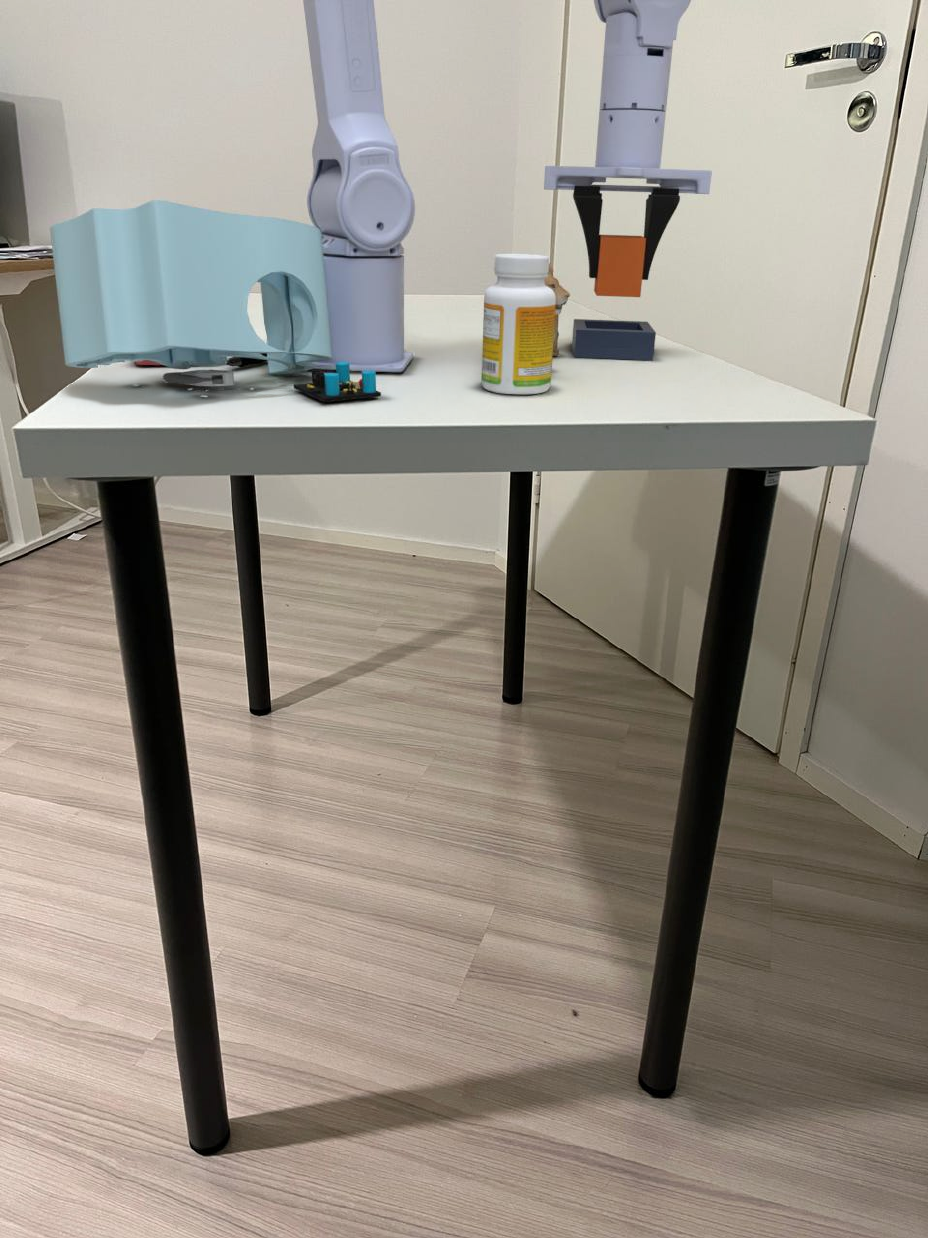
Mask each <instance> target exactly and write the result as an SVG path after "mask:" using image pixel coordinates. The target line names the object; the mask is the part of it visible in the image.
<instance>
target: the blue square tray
mask: <svg viewBox="0 0 928 1238" xmlns="http://www.w3.org/2000/svg"><path fill="white" fill-rule="evenodd" d="M656 335H657V332H656V331H655V329H654V328H653V327H652V325H651V324H650V323H649V322H648V321H639V320H638V321H637V320H612V319H611V320H610V319H586V318H585V319H584V318H574V319H573V325H572V337H571V338H572V340H571V347H572V353H573V357H574V358H579V359H580V358H581V359H605V360H608V359H609V360H633V361H653V360H654V355H655V345H656Z"/></svg>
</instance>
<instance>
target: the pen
mask: <svg viewBox="0 0 928 1238" xmlns="http://www.w3.org/2000/svg"><path fill="white" fill-rule="evenodd" d="M260 354H261V355H263V356H265V357H267V353H260ZM264 363H268V360H263V359H255V358H246V357H228V358H227V364H225V365H226V366H228V367H238V368H244V367H248V366H253V365H254V366H255V365H259V364H264Z"/></svg>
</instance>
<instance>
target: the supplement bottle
mask: <svg viewBox="0 0 928 1238" xmlns="http://www.w3.org/2000/svg"><path fill="white" fill-rule="evenodd" d="M549 263H550V257H549V255H546V254H545V255H544V254H535V253H534V254H532V253H498V254H495V255H494V267H493V271H494V275H495V276H496V277H497V280H496V282H495V283H494V284H492V285H490V286H488V288H487V289H486V290H485V291H484V297H483V298H484V299H483V321H482V322H483V323H482V347H481V348H482V351H481V353H482V354H481V386H482V387H483V388H484V389H485V390H486V391H488V392H493V393H496V394H501V395H502V394H503V395H504V394H505V395H537V394H542V393H545V392H547V391H548V390H549V389H550V387H551V385H552V383H551V382H552V371H553V370H552V369H553V355H552V354H553V338H554V322H555V306H556V297H555V293H554V292H553V290H552V289H551V288H549V287H547V286H546V285H545V282H544V281H545V277H547V276H548V272H549Z"/></svg>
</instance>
